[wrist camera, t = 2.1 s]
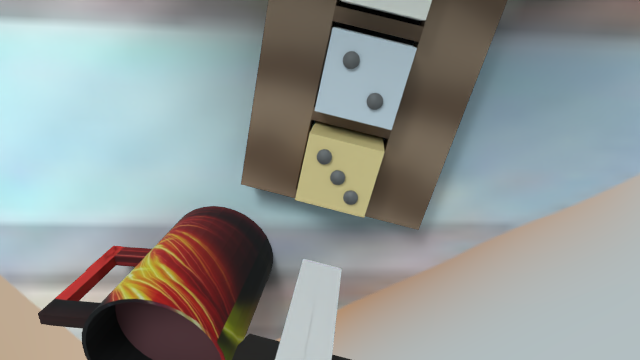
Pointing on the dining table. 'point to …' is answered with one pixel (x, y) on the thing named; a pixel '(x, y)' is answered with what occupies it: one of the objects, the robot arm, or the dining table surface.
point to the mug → (173, 292)
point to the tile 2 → (397, 7)
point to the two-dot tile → (364, 77)
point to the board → (399, 144)
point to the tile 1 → (340, 168)
